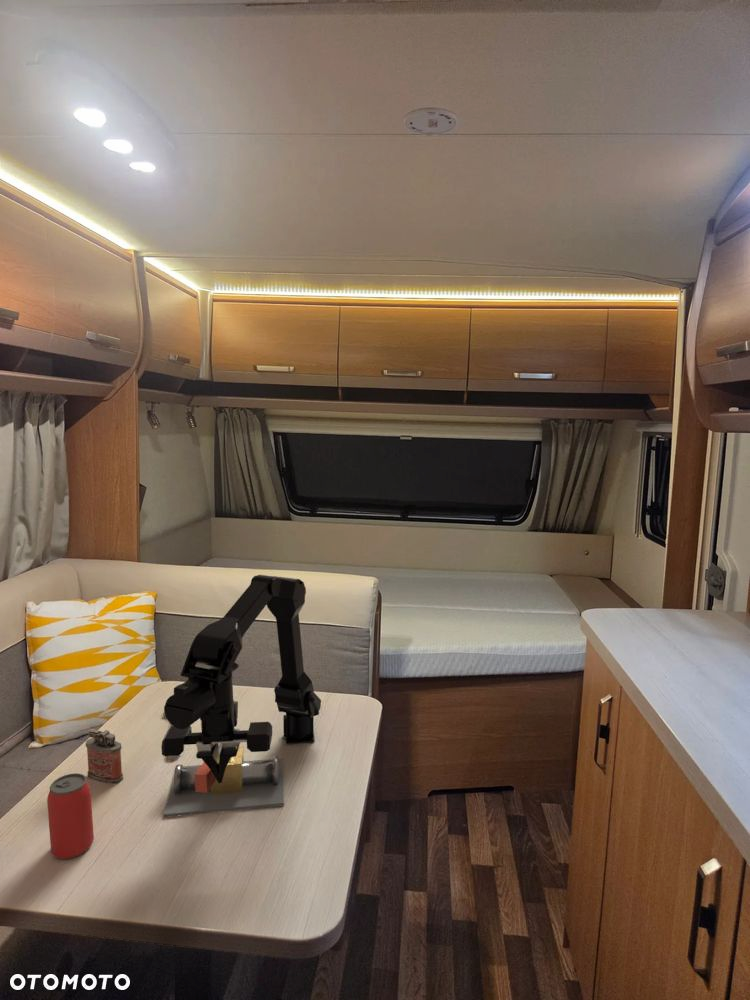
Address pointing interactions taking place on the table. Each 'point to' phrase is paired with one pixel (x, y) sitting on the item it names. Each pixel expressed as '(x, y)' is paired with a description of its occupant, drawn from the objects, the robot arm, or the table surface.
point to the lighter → (104, 757)
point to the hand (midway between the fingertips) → (220, 781)
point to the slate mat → (227, 797)
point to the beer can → (70, 816)
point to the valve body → (230, 775)
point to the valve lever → (205, 777)
